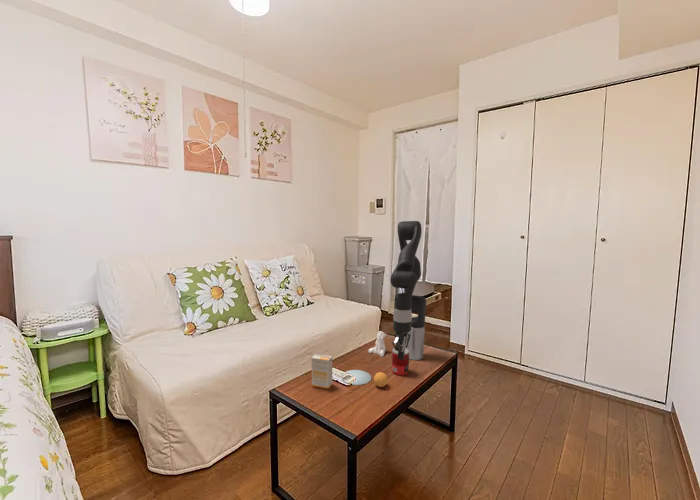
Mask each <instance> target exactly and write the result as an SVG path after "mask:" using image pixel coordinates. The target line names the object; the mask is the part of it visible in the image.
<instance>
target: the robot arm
mask: <svg viewBox="0 0 700 500" xmlns="http://www.w3.org/2000/svg"><path fill="white" fill-rule="evenodd" d="M397 236H398V244H399V249H400V253H399V255H398V261H397V264H396V266H395V268H394V270H393V272H392V273H391V275H390V284H391V286H392V288H396V289H403V290H404V291H403V292H400V293H396V294H395V295H394V303H393V304H394V305H393V308H394V309H393V317H392V319H393V320H392V329H393V330H394V332H395V340H392V341H391V344H392V346H393V349H394V348H395V350H396V351H398V359H400V360H403V359H404V351H405V349H408V350H409V360H413V361H414V360H415V361H418V360H419V361H420V360H422V359H424V350H425V349H424V348H425V346H424V345H425V326H426V325H425V323H426V313H427V312H426V311H427V298H426V297H425V296H421V295H416V294H415V295H414V292H415V287H416V285H417V283H418V281H419V280H420V278H421V275H422V271H421V269H422V267H421V262H420V259H418V257H417V256H416V255H417V251H418V247H419V245H420V241H421V238H422V223H421V222H420V221H417V220H405V221H404V220H403V221H399V222H398V224H397ZM407 241H409V242H407ZM412 314H417V316H414V317H413V315H412Z"/></svg>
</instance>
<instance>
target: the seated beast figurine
mask: <svg viewBox="0 0 700 500" xmlns="http://www.w3.org/2000/svg"><path fill="white" fill-rule="evenodd" d="M386 337H387V334H385V332H383V331H380V330H379V331H377V333H376V338H377V339H376V340H375V342H374V344H375V346H373V347H370V348H369V349H368V350H367V351H368V353H369V354H376V355H379V356H380V357H381V358H382V357H385V352H386V349H387V348H386V345H385V340H384V339H385V338H386Z"/></svg>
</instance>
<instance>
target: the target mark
mask: <svg viewBox="0 0 700 500" xmlns="http://www.w3.org/2000/svg"><path fill="white" fill-rule="evenodd" d="M345 372H346V373H349V374H351V375H353V376H355V378H356V380H355V382H353V383H352V385H354V386H362V385H366V384H368V383H369V382H371V380H372V375H371V374H370V373H369V372H367V371H364V370H362V369H361V370H360V369H349V370H346V371H345Z"/></svg>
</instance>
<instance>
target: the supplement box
mask: <svg viewBox="0 0 700 500" xmlns="http://www.w3.org/2000/svg"><path fill="white" fill-rule="evenodd" d="M332 386H333V356H332V355H326V354H319V353H315V354H314V355H313V356H312V357H311V387H316V388H322V389H326V390H329V389H330V387H332Z"/></svg>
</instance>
